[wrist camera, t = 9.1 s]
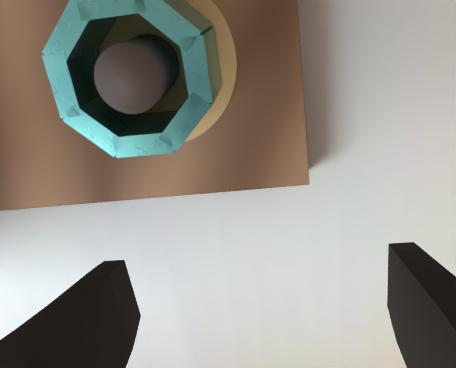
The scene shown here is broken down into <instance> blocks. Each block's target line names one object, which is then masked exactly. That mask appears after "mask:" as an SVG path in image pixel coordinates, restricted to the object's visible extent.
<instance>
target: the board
mask: <svg viewBox="0 0 456 368" xmlns="http://www.w3.org/2000/svg"><path fill="white" fill-rule="evenodd" d="M69 1H70V0H0V211H1V210H13V209H25V208H36V207H48V206H60V205H72V204H84V203H96V202H108V201H120V200H132V199H144V198H155V197H167V196H179V195H191V194H203V193H215V192H227V191H239V190H251V189H263V188H274V187H286V186H298V185H309V170H308V155H307V141H306V126H305V111H304V96H303V81H302V67H301V52H300V37H299V22H298V8H297V0H186V1H187V2H188V3H189V4H190V5H192V6H193V7H194V8H195V9H196V10H198V11H199V12H200V13H201V14H202V15H204V16H205V17H206V18H207V19H208V20H210V21H211V22H212V23H213V25H212V27H214V26H215V30H216V37H217V45H218V52H219V60H220V67H221V75H222V82H223V84H222V87H221V89H220V91H219V93H218V95H217V97H216V99H215V101H214V103H213V105H212V106H211V108H210V109H209V110H208V112H207V113H206V114H205V115H204V117H203V118H202V119H201V121H200V122H199V123H198V125H197V126H196V127H195V128H194V130H193V131H192V132H191V134H190V135H189V136H188V137H187V139H186V140H185V141H184V143H183V144H182V145H181V146H180V148H179V149H178V150H177V152H176V151H175V152H174V153H168V154H157V155H145V156H134V157H122V158H116V155H115V156H114V157H113V156H111V155H110V154H109V153H107V152H106V151H104V150H103V149H102V148H100V147H99V146H97V145H96V144H94V143H93V142H92V141H90V140H89V139H87V138H86V137H85V136H83V135H82V134H80V133H79V132H78V131H76V130H75V129H73V128H72V127H71V126H69V125H68V124H66V123H65V122H64V121H63V119H64V118H60V114H59V111H58V108H57V104H56V101H55V98H54V94H53V91H52V88H51V85H50V81H49V78H48V75H47V71H46V68H45V65H44V62H43V58H42V55H45V54H43V53H42V51H43V49H44V48H45V46H46V44H47V42H48V40H49V38H50V36H51V34H52V33H53V31H54V29H55V27H56V25H57V23H58V21H59V19H60V17H61V16H62V14H63V12H64V10H65V8H66V6H67V4H68V2H69ZM99 50H100V54H101V55H100V56H99V58H98V59H97V61H96V64H95V69H94V80H95V85H96V88H97V90H98V92H99V94H100V96H101V97H102V99H103V100H104V101H105V102H106V103H107V104H108V105H109V106H111V107H112V108H114V109H115V110H117V111H119V112H122V113H127V114H138V113H141V114H146V113H155V112H165V111H175V110H180V108H181V107H182V106H183V104H184V103H185V102H186V100H187V99H188V98H189V95H188V89H187V83H186V77H185V71H184V65H183V59H182V54H181V48H180V46H179V45H177V44H176V43H175V42H174V41H172V40H171V39H170V38H169V37H167V36H166V35H165V34H164V33H162V32H161V31H160V30H159V29H157V28H156V27H155V26H154V25H152V24H151V23H150V22H149V21H147V20H146V19H145V18H144V17H142V16H141V15H140V14H139V13H136V14H129V15H122V16H118V18H117V19H116V21H115V23H114V25H113V26H112V28H111V30H110V31H109V33H108V35H107V36H106V38H105V40H104V41H103V43H102V45H101V46H100V48H99Z"/></svg>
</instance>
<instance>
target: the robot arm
mask: <svg viewBox="0 0 456 368" xmlns="http://www.w3.org/2000/svg"><path fill="white" fill-rule="evenodd" d="M387 306H388V310H389V314H390V318H391V322H392V326H393V329H394V333H395V337H396V340H397V343H398V346H399V349H400V351H401V354H402V356H403V359H404V361H405V364H406V366H407V368H456V277H455V276H454V275H453V274H452V273H450V272H449V271H448V270H447V269H445V268H444V267H443V266H442V265H441V264H439V263H438V262H437V261H436V260H435V259H433V258H432V257H431V256H430V255H429V254H427V253H426V252H425V251H424V250H423V249H421V248H420V247H419V246H418V245H416V244H415V243H414V242H409V243H393V244H389V255H388V304H387ZM140 317H141V315H140V312H139V308H138V305H137V302H136V298H135V295H134V291H133V288H132V285H131V281H130V278H129V274H128V271H127V268H126V264H125V261H124V260H116V261H104V262H102V263H101V264H99V265H98V266H97V267H95V268H94V269H93V270H91V271H90V272H89V273H87V274H86V275H85V276H84V277H82V278H81V279H80V280H79V281H77V282H76V283H75V284H74V285H73V286H71V287H70V288H69V289H68V290H66V291H65V292H64V293H63V294H61V295H60V296H59V297H58V298H56V299H55V300H54V301H53V302H51V303H50V304H49V305H48V306H46V307H45V308H44V309H42V310H41V311H40V312H38V313H37V314H36V315H34V316H33V317H32V318H30V319H29V320H27V321H26V322H25V323H23V324H22V325H21V326H19V327H18V328H17V329H15V330H14V331H13V332H11V333H10V334H8V335H7V336H6V337H4V338H3V339H1V340H0V368H126V365H127V363H128V360H129V357H130V355H131V352H132V349H133V346H134V342H135V338H136V334H137V330H138V325H139V321H140Z"/></svg>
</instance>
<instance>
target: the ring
mask: <svg viewBox="0 0 456 368" xmlns="http://www.w3.org/2000/svg"><path fill="white" fill-rule="evenodd" d="M136 13H139V14H140V15H141V16H142V17H144V18H145V19H146V20H147V21H149V22H150V23H151V24H152V25H154V26H155V27H156V28H157V29H159V30H160V31H161V32H162V33H164V34H165V35H166V36H167V37H169V38H170V39H171V40H172V41H174V42H175V43H176V44H177V45H179V46H180V48H181V54H182V59H183V65H184V71H185V77H186V83H187V89H188V95H189V98H188V99H187V100H186V102H185V103H184V104H183V106H182V107H181V108H180V110H175V111H165V112H155V113H146V114H141V113H138V114H127V113H122V112H119V111H117V110H115V109H114V108H112V107H111V106H109V105H108V104H107V103H106V102H105V101H104V100H103V99H102V97H101V96H100V94H99V92H98V90H97V88H96V85H95V80H94V69H95V64H96V61H97V59H98V58H99V56H100V55H101V54H100V50H99V48H100V46H101V45H102V43H103V41H104V40H105V38H106V36H107V35H108V33H109V31H110V30H111V28H112V26H113V25H114V23H115V21H116V19H117V18H118V16H122V15H129V14H136ZM212 25H213V23H212V22H211V21H210V20H208V19H207V18H206V17H205V16H204V15H202V14H201V13H200V12H199V11H198V10H196V9H195V8H194V7H193V6H192V5H190V4H189V3H188V2H187V1H186V0H70V1H69V2H68V4H67V6H66V8H65V10H64V12H63V14H62V16H61V17H60V19H59V21H58V23H57V25H56V27H55V29H54V31H53V33H52V34H51V36H50V38H49V40H48V42H47V44H46V46H45V48H44V49H43V51H42V53H43V54H45V55H42V58H43V62H44V65H45V68H46V71H47V75H48V78H49V81H50V85H51V88H52V91H53V94H54V98H55V101H56V104H57V108H58V111H59V114H60V118H64V119H63V121H64V122H65V123H66V124H68V125H69V126H71V127H72V128H73V129H75V130H76V131H78V132H79V133H80V134H82V135H83V136H85V137H86V138H87V139H89V140H90V141H92V142H93V143H94V144H96V145H97V146H99V147H100V148H102V149H103V150H104V151H106V152H107V153H109V154H110V155H111V156H113V157H114V156H115V155H116V158H122V157H134V156H145V155H157V154H168V153H174V152H175V151H176V152H177V150H178V149H179V148H180V146H181V145H182V144H183V143H184V141H185V140H186V139H187V137H188V136H189V135H190V134H191V132H192V131H193V130H194V128H195V127H196V126H197V125H198V123H199V122H200V121H201V119H202V118H203V117H204V115H205V114H206V113H207V112H208V110H209V109H210V108H211V106H212V105H213V103H214V101H215V99H216V97H217V95H218V93H219V91H220V89H221V87H222V84H223V82H222V75H221V67H220V60H219V52H218V45H217V37H216V30H215V26H214V27H212Z"/></svg>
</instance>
